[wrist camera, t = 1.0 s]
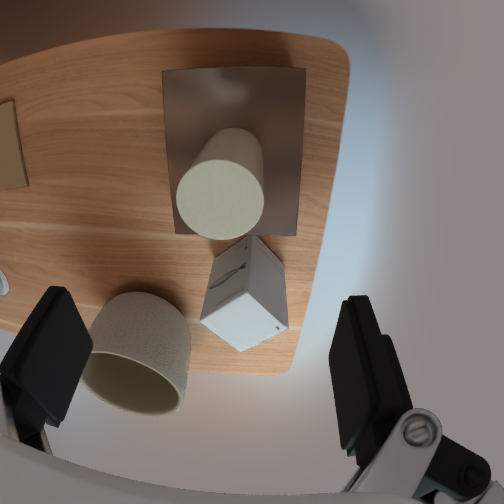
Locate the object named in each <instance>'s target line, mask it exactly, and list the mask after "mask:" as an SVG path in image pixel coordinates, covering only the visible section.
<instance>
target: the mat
mask: <svg viewBox="0 0 504 504" xmlns="http://www.w3.org/2000/svg"><path fill="white" fill-rule="evenodd" d="M28 186H29V183H28V178H27V174H26V169H25V165H24V160H23V155H22V149H21V144H20V138H19V132H18V125H17V118H16V110H15V101H14V100H11V101H8V102H6V103H3V104H1V105H0V191H1V190H7V189H14V188H22V187H28Z"/></svg>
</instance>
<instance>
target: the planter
mask: <svg viewBox="0 0 504 504" xmlns="http://www.w3.org/2000/svg"><path fill="white" fill-rule="evenodd" d="M88 333H89V335H90V337H91V339H92V341H93V349H92V352H91V354H90V357H89V359H88V361H87V363H86V366H85V368H84V370H83V373H82V375H81V378H80V380H79V381H80V382H81V383H82V385H83V386H84V387H85V388H86V389H87V390H88V391H90V392H91V393H92V394H93V395H95V396H96V397H98V398H99V399H101V400H102V401H104V402H106V403H108V404H110V405H112V406H114V407H117V408H119V409H122V410H124V411H128V412H131V413H135V414H140V415H148V416H161V415H167V414H171V413H173V412H175V411H177V410H178V409H179V408H180V407H181V406H182V404H183V400H184V395H185V388H186V382H187V375H188V370H189V363H190V356H191V333H190V329H189V326H188V324H187V322H186V320H185V318H184V317H183V315H182V314H181V313H180V312H179V310H178V309H177V308H176V307H174V306H173V305H172V304H171V303H169V302H168V301H166V300H164V299H163V298H161V297H158V296H156V295H153V294H150V293H145V292H128V293H123V294H120V295H118V296H116V297H114V298H112V299H111V300H110V301H109V302H107V303H106V305H105V306H104V307H103V308H102V309H101V311H100V312H99V313H98V315H97V317H96V318H95V320H94V321H93V323H92V325H91V327H90V328H89V330H88Z"/></svg>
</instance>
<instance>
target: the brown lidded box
mask: <svg viewBox="0 0 504 504" xmlns="http://www.w3.org/2000/svg"><path fill="white" fill-rule="evenodd" d="M162 85H163V105H164V121H165V135H166V148H167V160H168V171H169V181H170V190H171V200H172V208H173V217H174V225H175V232H176V234H198V233H196V232H195V231H193V230H192V229H191V228H190V227H189V226H188V225H187V224H186V223H185V222H184V220H183V219H182V217H181V215H180V213H179V211H178V208H177V203H176V193H177V188H178V185H179V183H180V180H181V179H182V177H183V176H184V174H185V173H186V171H187V170H188V168H189V167H190V165H191V164H192V162H193V161H194V160H195V158H196V157H197V155H198V154H199V153H200V151H201V150H202V148H203V147H204V146H205V144H206V143H207V141H208V140H209V139H210V138H211V136H213V135H214V134H215V133H216V132H218V131H220V130H222V129H225V128H241V129H244V130H246V131H248V132H250V133H251V134H253V135H254V136H255V137H256V138H257V139H258V141H259V142H260V144H261V147H262V150H263V173H264V207H263V211H262V214H261V217H260V219H259V220H258V222H257V223H256V225H255V226H254V227H253V228H252V229H251V230H249V231H248V232H247V233H245V234H243V235H266V236H296V230H297V219H298V206H299V193H300V180H301V165H302V149H303V132H304V112H305V89H306V68H294V67H272V66H225V67H203V68H188V69H177V70H167V71H162Z"/></svg>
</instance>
